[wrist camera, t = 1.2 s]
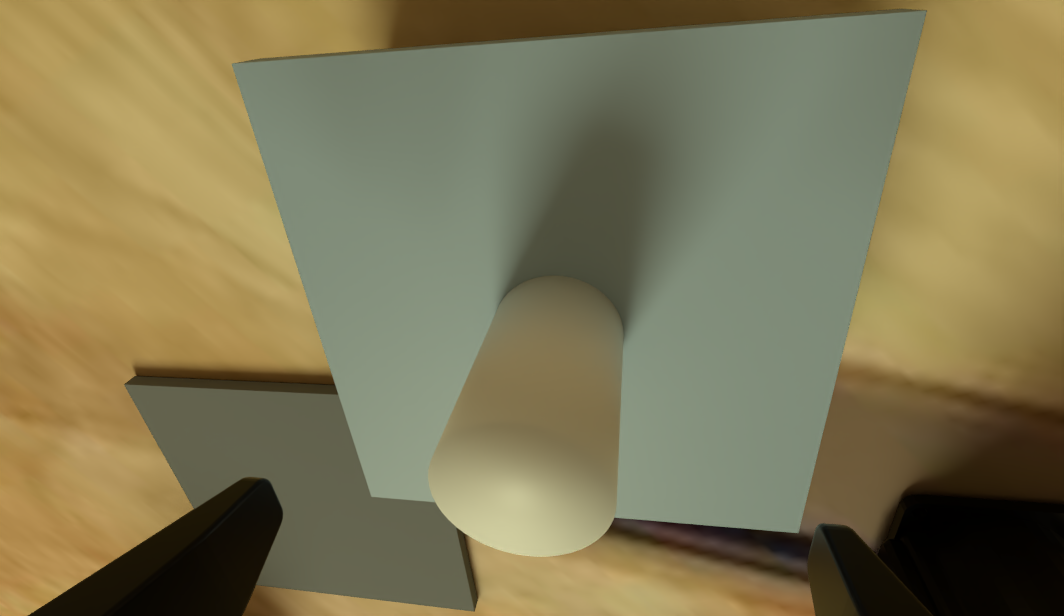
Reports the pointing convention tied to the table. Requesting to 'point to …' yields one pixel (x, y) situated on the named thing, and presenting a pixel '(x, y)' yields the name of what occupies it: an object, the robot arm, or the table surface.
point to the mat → (306, 489)
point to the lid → (588, 260)
